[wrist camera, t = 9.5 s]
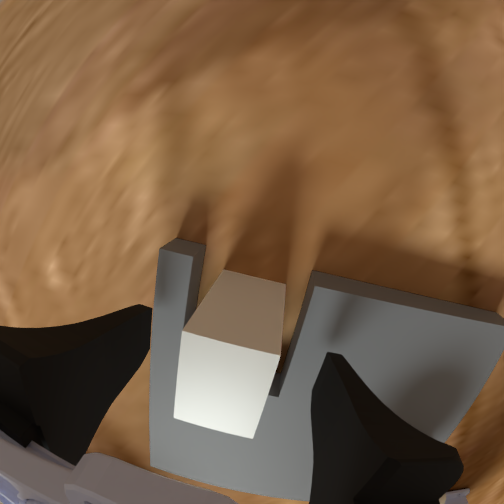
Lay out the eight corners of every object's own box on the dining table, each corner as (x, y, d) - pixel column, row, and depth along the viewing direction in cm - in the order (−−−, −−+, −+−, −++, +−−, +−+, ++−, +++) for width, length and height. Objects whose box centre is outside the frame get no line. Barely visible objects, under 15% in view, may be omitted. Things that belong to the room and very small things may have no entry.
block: (286, 284, 15) (280, 355, 9) (266, 353, 16) (252, 438, 10) (223, 269, 15) (181, 330, 9) (210, 339, 16) (173, 417, 10)
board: (496, 312, 13) (514, 328, 12) (386, 484, 18) (389, 502, 16) (176, 238, 15) (159, 248, 13) (159, 447, 19) (150, 465, 17)
